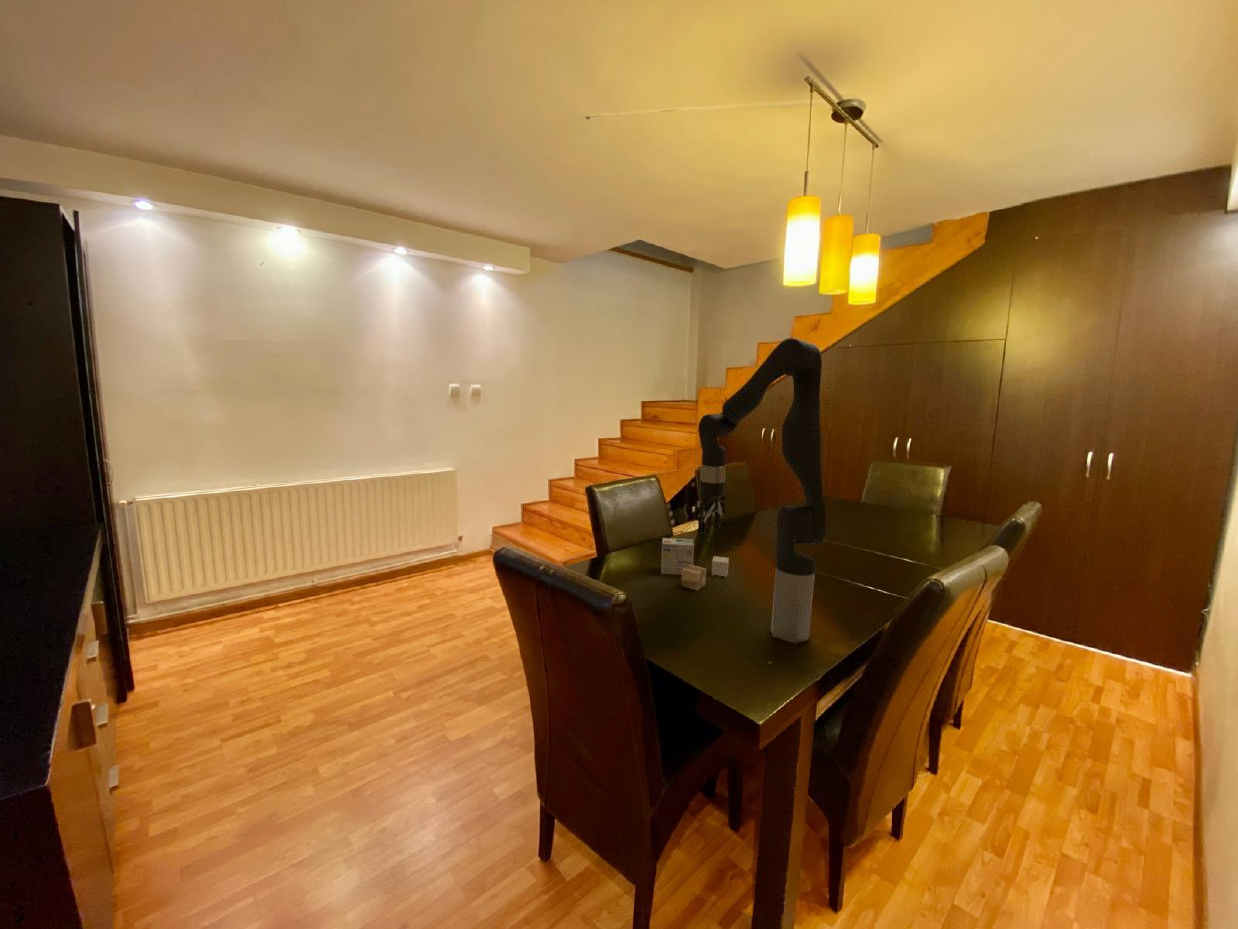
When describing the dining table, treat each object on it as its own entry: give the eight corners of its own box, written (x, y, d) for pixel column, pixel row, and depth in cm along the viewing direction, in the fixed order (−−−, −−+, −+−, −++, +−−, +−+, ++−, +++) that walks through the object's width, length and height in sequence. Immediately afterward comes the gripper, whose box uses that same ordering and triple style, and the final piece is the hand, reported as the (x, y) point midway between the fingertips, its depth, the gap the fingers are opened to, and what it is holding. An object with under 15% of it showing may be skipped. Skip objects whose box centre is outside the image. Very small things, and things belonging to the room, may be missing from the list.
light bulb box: (692, 569, 170) (693, 538, 168) (693, 576, 163) (694, 544, 162) (660, 567, 171) (662, 537, 169) (660, 574, 164) (661, 543, 163)
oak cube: (696, 590, 152) (697, 573, 151) (681, 586, 155) (682, 569, 154) (705, 585, 156) (706, 568, 156) (689, 581, 160) (690, 564, 159)
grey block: (726, 577, 164) (727, 562, 163) (711, 575, 165) (712, 561, 164) (727, 572, 168) (728, 558, 167) (713, 570, 170) (713, 556, 169)
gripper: (710, 484, 144) (706, 538, 146) (735, 478, 154) (731, 528, 157) (688, 480, 149) (686, 532, 152) (714, 474, 159) (711, 523, 162)
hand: (709, 530), depth 154 cm, fingers open, 8 cm apart
